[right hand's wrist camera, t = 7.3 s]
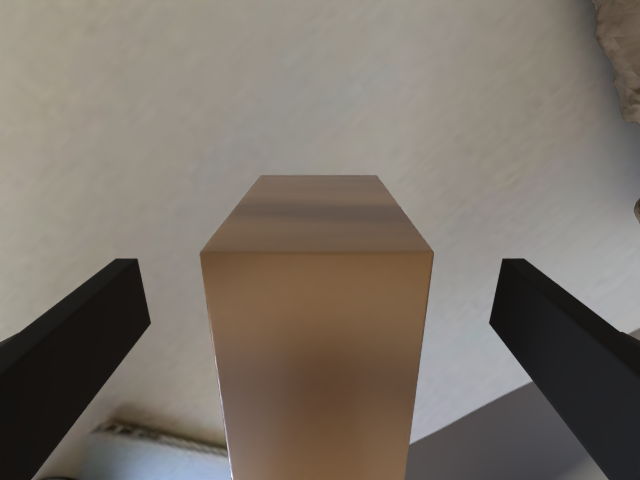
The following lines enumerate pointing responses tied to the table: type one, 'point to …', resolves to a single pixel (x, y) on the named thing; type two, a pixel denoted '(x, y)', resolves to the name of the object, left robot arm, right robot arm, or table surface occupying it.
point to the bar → (317, 328)
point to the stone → (622, 53)
